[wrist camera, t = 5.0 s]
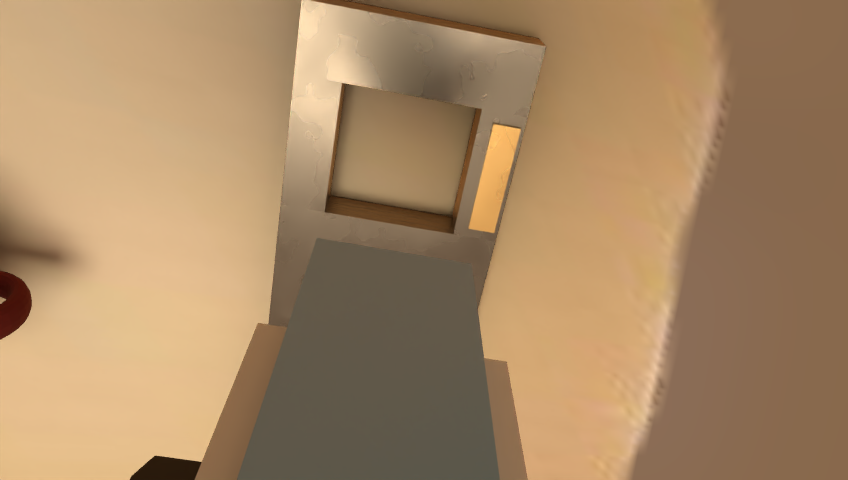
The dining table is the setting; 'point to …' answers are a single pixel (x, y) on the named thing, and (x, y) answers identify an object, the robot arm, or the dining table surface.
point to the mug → (13, 303)
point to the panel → (411, 75)
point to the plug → (377, 374)
